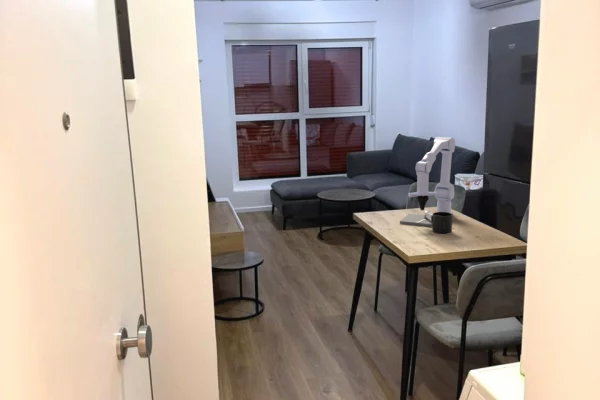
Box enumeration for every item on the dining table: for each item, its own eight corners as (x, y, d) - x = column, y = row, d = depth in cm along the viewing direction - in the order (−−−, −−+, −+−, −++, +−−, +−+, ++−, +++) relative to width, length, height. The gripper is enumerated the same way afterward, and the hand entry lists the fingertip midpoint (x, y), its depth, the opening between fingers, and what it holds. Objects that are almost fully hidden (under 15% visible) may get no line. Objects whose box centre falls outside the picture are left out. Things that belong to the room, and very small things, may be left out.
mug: (433, 235, 265) (434, 217, 263) (431, 228, 277) (432, 211, 275) (453, 235, 264) (454, 217, 262) (450, 229, 276) (451, 211, 274)
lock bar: (424, 216, 292) (424, 210, 292) (429, 216, 292) (429, 210, 292) (430, 222, 280) (431, 216, 280) (436, 221, 280) (436, 215, 280)
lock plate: (408, 216, 303) (408, 213, 302) (448, 220, 293) (448, 217, 293) (399, 223, 287) (399, 220, 287) (441, 228, 278) (441, 224, 277)
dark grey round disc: (424, 217, 294) (424, 216, 293) (431, 218, 292) (431, 216, 292) (423, 219, 290) (423, 217, 290) (429, 219, 289) (429, 218, 289)
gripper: (411, 186, 276) (410, 212, 279) (439, 185, 277) (438, 211, 280) (407, 183, 283) (406, 209, 286) (434, 182, 284) (433, 207, 287)
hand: (422, 209), depth 284 cm, fingers closed
